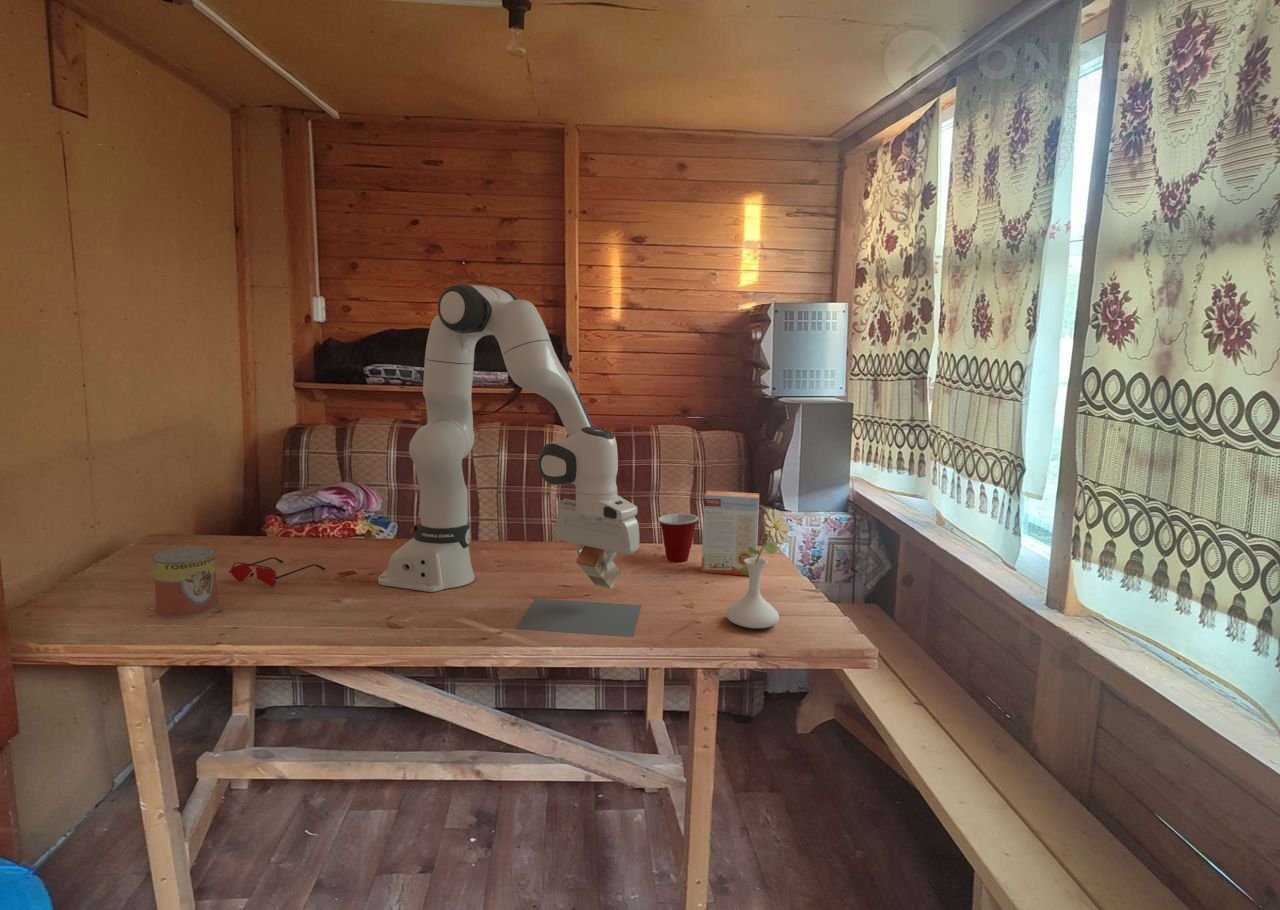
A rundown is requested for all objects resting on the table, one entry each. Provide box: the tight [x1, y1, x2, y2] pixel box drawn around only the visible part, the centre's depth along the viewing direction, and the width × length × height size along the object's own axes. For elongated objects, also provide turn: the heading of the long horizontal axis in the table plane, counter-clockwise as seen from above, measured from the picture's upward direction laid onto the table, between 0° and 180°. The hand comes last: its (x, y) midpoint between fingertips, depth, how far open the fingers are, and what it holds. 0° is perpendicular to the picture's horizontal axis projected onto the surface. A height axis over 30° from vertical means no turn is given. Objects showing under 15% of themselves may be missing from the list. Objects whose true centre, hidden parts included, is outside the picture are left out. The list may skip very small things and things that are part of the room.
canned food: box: [151, 545, 219, 619], centre depth 159 cm, size 11×11×12 cm
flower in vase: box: [725, 508, 791, 629], centre depth 160 cm, size 13×11×25 cm
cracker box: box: [701, 490, 760, 577], centre depth 195 cm, size 14×6×21 cm, turn 80°
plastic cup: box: [657, 513, 699, 563], centre depth 205 cm, size 11×11×12 cm
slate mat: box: [515, 597, 642, 638], centre depth 161 cm, size 24×18×1 cm
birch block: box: [575, 546, 621, 590], centre depth 164 cm, size 4×4×10 cm
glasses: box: [228, 557, 326, 588], centre depth 183 cm, size 14×16×5 cm
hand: (595, 566), depth 163 cm, fingers closed on birch block, 4 cm apart
